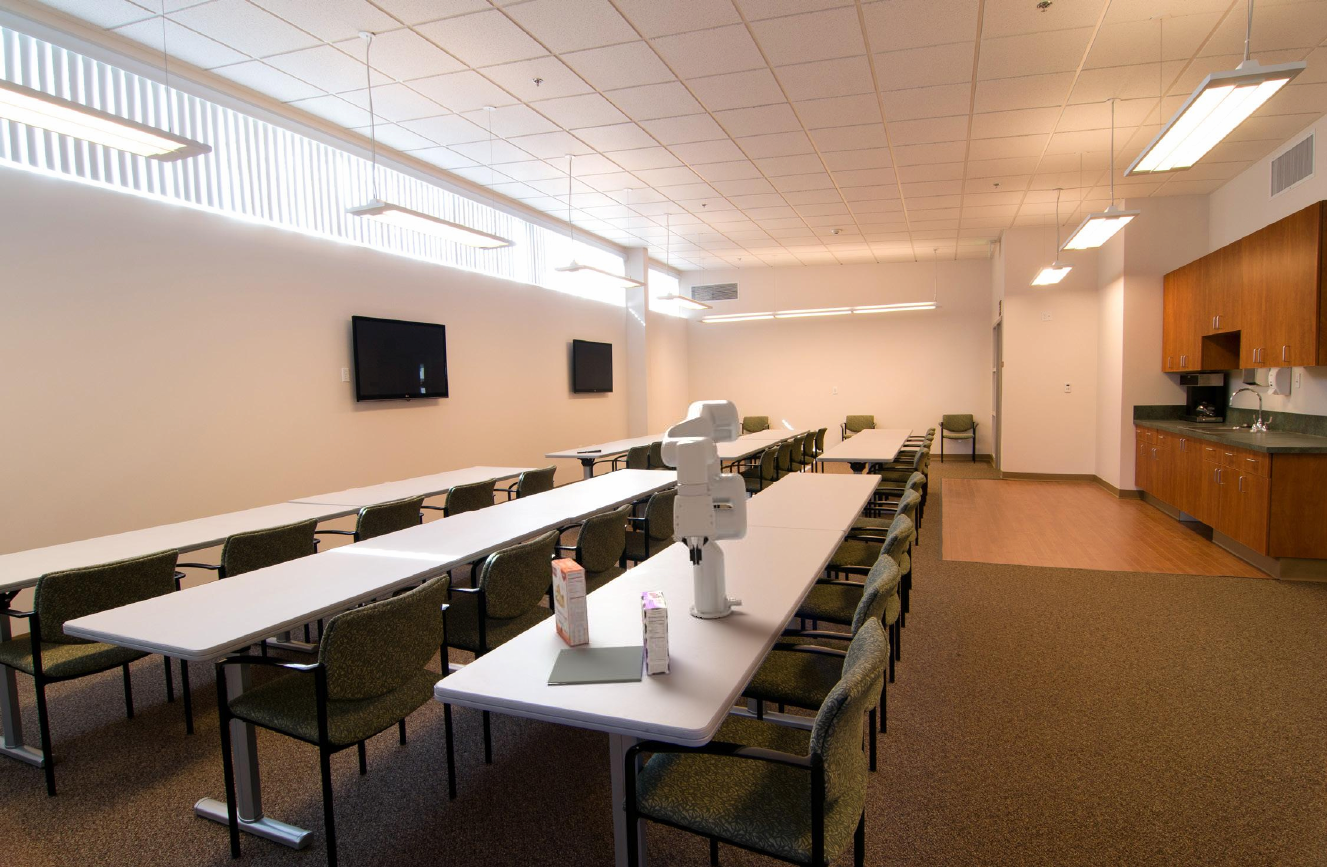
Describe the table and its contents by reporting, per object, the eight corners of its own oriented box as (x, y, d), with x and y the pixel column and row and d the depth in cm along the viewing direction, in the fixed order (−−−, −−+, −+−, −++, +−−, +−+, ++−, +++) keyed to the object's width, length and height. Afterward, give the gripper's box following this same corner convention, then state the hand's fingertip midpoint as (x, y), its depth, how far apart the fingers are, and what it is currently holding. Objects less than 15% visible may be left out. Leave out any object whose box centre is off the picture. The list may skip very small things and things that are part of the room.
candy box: (643, 653, 174) (640, 591, 173) (665, 651, 175) (662, 589, 173) (646, 675, 160) (643, 608, 159) (670, 673, 161) (667, 606, 160)
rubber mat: (643, 648, 177) (643, 645, 177) (640, 681, 158) (640, 678, 157) (560, 651, 178) (560, 649, 178) (547, 685, 158) (547, 682, 158)
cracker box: (554, 631, 193) (550, 560, 191) (574, 627, 195) (571, 557, 194) (568, 648, 180) (564, 571, 179) (589, 643, 182) (585, 568, 181)
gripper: (722, 486, 168) (724, 558, 169) (662, 489, 168) (665, 561, 169) (724, 491, 161) (727, 566, 162) (662, 493, 161) (665, 569, 162)
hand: (696, 563), depth 166 cm, fingers closed
